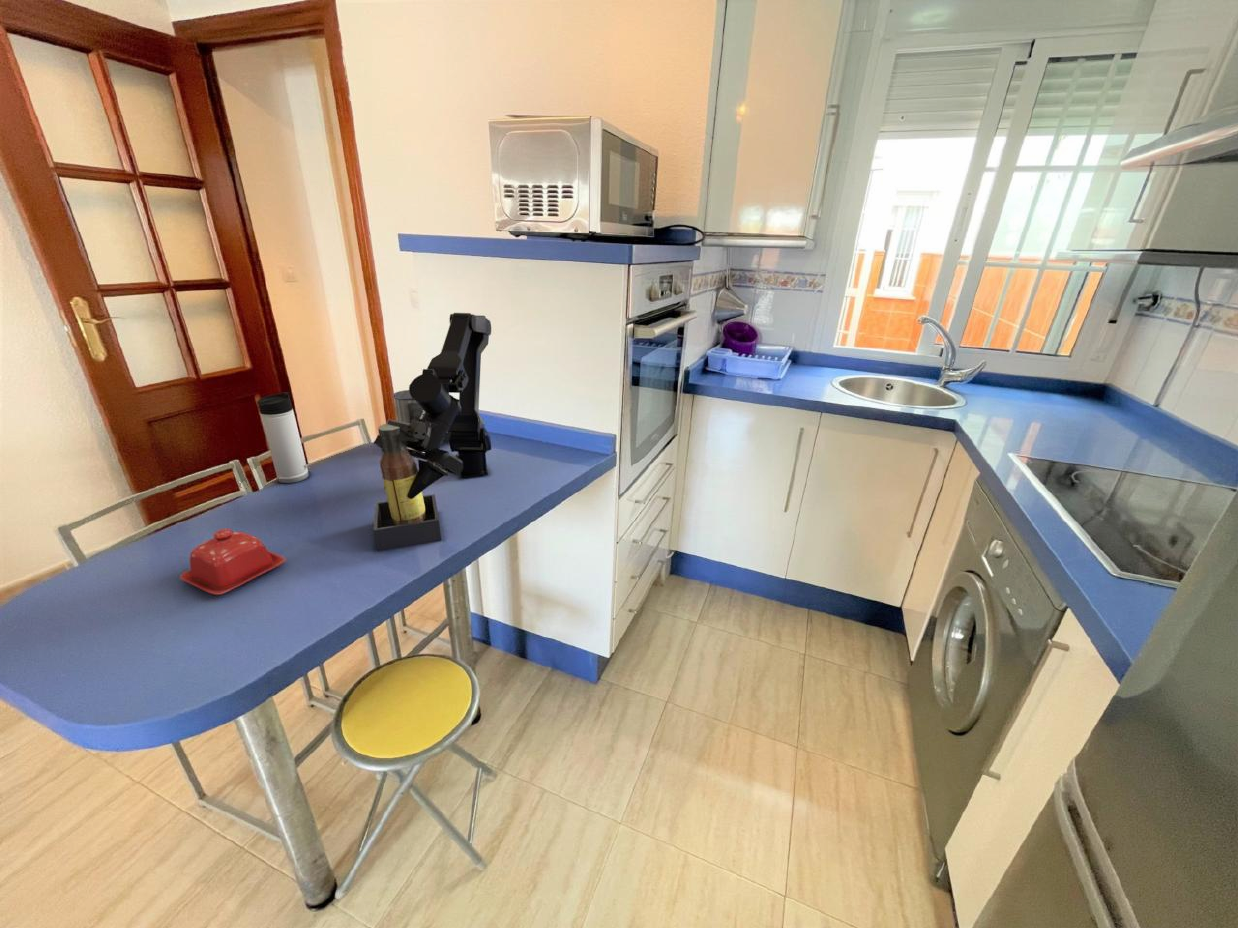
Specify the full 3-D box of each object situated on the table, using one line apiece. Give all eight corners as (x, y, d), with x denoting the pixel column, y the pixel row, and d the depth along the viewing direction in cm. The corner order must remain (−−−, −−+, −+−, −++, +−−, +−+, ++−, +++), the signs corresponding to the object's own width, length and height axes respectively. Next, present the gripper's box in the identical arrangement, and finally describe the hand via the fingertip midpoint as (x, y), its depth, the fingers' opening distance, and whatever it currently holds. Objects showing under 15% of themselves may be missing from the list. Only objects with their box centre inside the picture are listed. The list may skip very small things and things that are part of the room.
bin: (437, 512, 106) (434, 494, 104) (441, 540, 96) (438, 519, 95) (379, 521, 102) (375, 502, 100) (377, 551, 92) (373, 530, 90)
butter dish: (250, 548, 92) (237, 507, 88) (291, 565, 87) (279, 523, 84) (177, 582, 82) (160, 538, 79) (219, 604, 78) (202, 558, 74)
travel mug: (316, 475, 120) (297, 394, 112) (289, 485, 115) (267, 401, 107) (298, 469, 123) (279, 390, 115) (271, 480, 117) (249, 397, 109)
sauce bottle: (431, 513, 101) (418, 421, 93) (417, 530, 95) (402, 433, 87) (400, 511, 101) (384, 419, 93) (384, 527, 96) (366, 430, 87)
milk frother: (394, 444, 139) (385, 392, 133) (445, 431, 150) (440, 383, 144) (419, 459, 131) (411, 405, 125) (472, 444, 141) (467, 393, 135)
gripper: (373, 393, 96) (331, 466, 91) (444, 410, 88) (402, 491, 84) (412, 420, 105) (376, 487, 101) (480, 438, 98) (443, 511, 93)
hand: (397, 493), depth 95 cm, fingers closed on sauce bottle, 6 cm apart
